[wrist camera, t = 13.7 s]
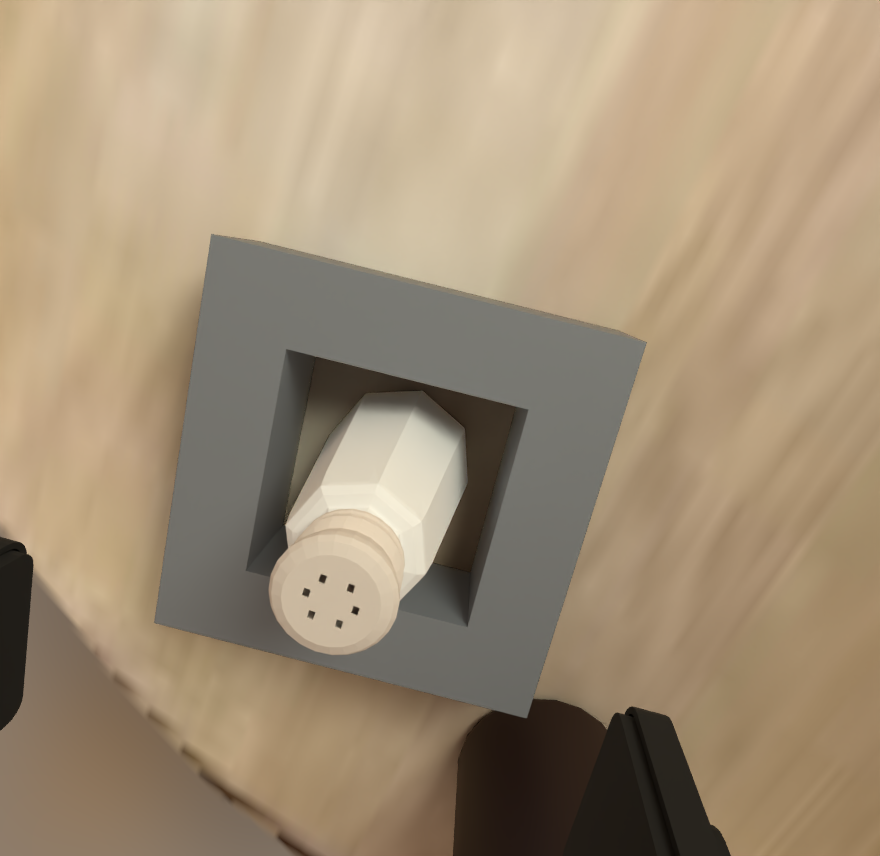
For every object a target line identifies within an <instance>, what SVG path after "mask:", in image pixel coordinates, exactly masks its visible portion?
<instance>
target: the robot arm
mask: <svg viewBox="0 0 880 856" xmlns="http://www.w3.org/2000/svg"><path fill="white" fill-rule="evenodd" d="M32 576H33V559H32V557H31V556H30V555H28V554H27V552H26V548H25V546H24V545H23V544H22V543H20V542H17V541H13V540H9V539H6V538H2V537H0V730H2V729H3V728H4V727H5V726H6V725H7V724H8V723H9V722H10V721H11V720H12V719H13V717H14V716H15V714H16V713H17V711H18V709H19V707H20V704H21V702H22V697H23V688H24V675H25V663H26V650H27V638H28V626H29V625H28V624H29V613H30V601H31V587H32ZM563 856H731V855H730V852H729V850H728V847H727V845H726V842H725V840H724V838H723V836H722V834H721V833H720V831H719V830H718V829H717V828H716V827H715V826H713V825H710V823H709V820H708V817H707V815H706V812H705V809H704V807H703V804H702V801H701V799H700V796H699V793H698V791H697V788H696V785H695V783H694V780H693V777H692V774H691V772H690V769H689V766H688V764H687V761H686V758H685V756H684V753H683V750H682V748H681V745H680V742H679V740H678V737H677V734H676V732H675V729H674V726H673V724H672V721H671V720H670V718H669V717H668V716H666V715H662V714H658V713H655V712H651V711H647V710H644V709H640V708H636V707H629V708H628V709H627V711H626V712H625V714H620V713H615V714H614V716H613V717H612V719H611V722H610V724H609V727H608V730H607V733H606V735H605V738H604V741H603V744H602V746H601V749H600V752H599V754H598V757H597V760H596V763H595V765H594V768H593V771H592V774H591V776H590V779H589V782H588V785H587V787H586V790H585V793H584V795H583V798H582V801H581V804H580V806H579V809H578V812H577V815H576V817H575V820H574V823H573V825H572V828H571V831H570V834H569V836H568V839H567V842H566V845H565V848H564V852H563Z"/></svg>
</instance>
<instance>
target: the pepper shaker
mask: <svg viewBox="0 0 880 856" xmlns="http://www.w3.org/2000/svg"><path fill="white" fill-rule="evenodd" d="M467 483H468V477H467V458H466V439H465V428H464V427H463V426H462V425H461V424H459V423H458V422H457V421H456V420H455V419H454V418H453V417H452V416H450V415H449V414H448V413H447V412H446V411H445V410H444V409H443V408H441V407H440V406H439V405H438V404H437V403H436V402H435V401H433V400H432V399H431V398H430V397H429V396H428V395H427V394H426V393H424V392H423V391H403V392H382V393H365V395H364V396H363V397H362V398H361V399H360V400H359V401H358V403H357V404H356V405H355V406H354V407H353V408H352V409H351V411H350V412H349V413H348V414H347V415H346V416H345V417H344V419H343V420H342V421H341V422H340V423H339V424H338V426H337V427H336V428H335V429H334V430H333V431H332V432H331V434H330V435H329V437H328V439H327V441H326V443H325V445H324V447H323V449H322V451H321V453H320V455H319V457H318V459H317V461H316V463H315V465H314V467H313V469H312V471H311V473H310V475H309V477H308V478H307V480H306V482H305V484H304V486H303V488H302V490H301V492H300V494H299V496H298V498H297V500H296V502H295V504H294V506H293V508H292V510H291V512H290V514H289V517H288V520H287V523H286V525H285V526H286V534H287V543H288V549H287V550H286V551H285V552H284V554H283V555H282V556H281V557H280V558H279V559H278V560H277V562H276V564H275V567H274V569H273V571H272V573H271V576H270V583H269V589H268V590H269V598H270V605H271V608H272V610H273V612H274V615H275V617H276V620H277V621H278V623H279V624H280V625H281V626H282V628H283V629H284V630H285V632H286V633H287V634H288V635H289V636H291V637H292V638H293V639H294V640H296V641H297V642H298V643H299V644H301V645H303V646H305V647H307V648H309V649H311V650H313V651H316V652H320V653H325V654H329V655H349V654H353V653H357V652H361V651H364V650H366V649H368V648H369V647H371V646H373V645H375V644H377V643H378V642H379V641H380V640H381V639H382V638H383V637H384V636H385V635H386V634H387V633H388V632H389V630H390V629H391V627H392V625H393V623H394V621H395V619H396V617H397V612H398V607H399V602H400V600H401V599H402V598H403V597H404V596H405V595H406V594H407V593H408V592H409V591H410V590H411V589H412V588H413V587H414V586H415V585H416V584H417V583H418V582H419V581H420V580H421V579H422V578H423V577H424V575H425V574H426V573H427V571H428V569H429V567H430V566H431V564H432V562H433V560H434V558H435V555H436V553H437V551H438V549H439V546H440V544H441V542H442V540H443V537H444V535H445V533H446V531H447V528H448V526H449V524H450V522H451V519H452V517H453V515H454V513H455V510H456V508H457V506H458V504H459V501H460V499H461V497H462V495H463V492H464V490H465V488H466V486H467Z"/></svg>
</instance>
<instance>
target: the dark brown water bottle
mask: <svg viewBox="0 0 880 856" xmlns="http://www.w3.org/2000/svg"><path fill="white" fill-rule="evenodd" d="M606 733H607V730H606V728H605V727H604V726H603V724H602V723H601V722H600V721H598V720H597V719H595V718H594V717H592V716H591V715H590V714H588V713H587V712H585V711H584V710H582V709H581V708H578V707H575V706H572V705H569V704H566V703H563V702H560V701H557V700H539V699H533V700H532V703H531V706H530V710H529V713H528V716H527V718H523V717H519V716H515V715H511V714H508V713H504V712H500V711H496V710H495V711H494V712H492V713H490V714H488V715H487V716H485V717H483V718H482V720H481V721H480V722H479V723H478V724H477V725H476V726H475V727H474V729H473V730H472V731H471V732H470V733H469V734H468V736H467V738H466V741H465V743H464V746H463V749H462V751H461V754H460V756H459V759H458V775H457V793H456V810H455V828H454V846H453V856H563V852H564V848H565V845H566V842H567V839H568V836H569V834H570V831H571V828H572V825H573V823H574V820H575V817H576V815H577V812H578V809H579V806H580V804H581V801H582V798H583V795H584V793H585V790H586V787H587V785H588V782H589V779H590V776H591V774H592V771H593V768H594V765H595V763H596V760H597V757H598V754H599V752H600V749H601V746H602V744H603V741H604V738H605V735H606Z"/></svg>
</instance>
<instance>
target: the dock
mask: <svg viewBox="0 0 880 856" xmlns="http://www.w3.org/2000/svg"><path fill="white" fill-rule="evenodd" d="M646 343H647V342H644V341H642V340H640V339H637V338H635V337H632V336H630V335H628V334H625V333H623V332H620V331H617V330H613V329H609V328H605V327H601V326H597V325H593V324H589V323H585V322H581V321H577V320H573V319H569V318H565V317H561V316H557V315H553V314H549V313H545V312H541V311H537V310H533V309H529V308H525V307H521V306H517V305H513V304H509V303H505V302H501V301H497V300H493V299H489V298H485V297H481V296H477V295H473V294H469V293H465V292H461V291H457V290H453V289H449V288H445V287H441V286H437V285H433V284H429V283H425V282H421V281H417V280H413V279H409V278H404V277H400V276H396V275H392V274H388V273H384V272H380V271H376V270H372V269H368V268H364V267H360V266H356V265H352V264H348V263H344V262H340V261H336V260H332V259H328V258H324V257H320V256H316V255H312V254H308V253H304V252H300V251H296V250H292V249H288V248H284V247H280V246H276V245H272V244H268V243H264V242H260V241H254V240H247V239H241V238H234V237H227V236H221V235H214V234H211V240H210V247H209V254H208V260H207V267H206V274H205V281H204V288H203V294H202V301H201V308H200V315H199V322H198V328H197V335H196V342H195V349H194V356H193V363H192V369H191V376H190V383H189V390H188V397H187V403H186V410H185V417H184V424H183V431H182V437H181V444H180V451H179V458H178V465H177V472H176V478H175V485H174V492H173V499H172V506H171V512H170V519H169V526H168V533H167V540H166V546H165V553H164V560H163V567H162V574H161V581H160V587H159V594H158V601H157V608H156V615H155V621H154V623H156V624H160V625H164V626H168V627H172V628H176V629H180V630H183V631H187V632H191V633H195V634H199V635H203V636H207V637H211V638H215V639H219V640H222V641H226V642H230V643H234V644H238V645H242V646H246V647H250V648H254V649H258V650H262V651H265V652H269V653H273V654H277V655H281V656H285V657H289V658H293V659H297V660H301V661H305V662H308V663H312V664H316V665H320V666H324V667H328V668H332V669H336V670H340V671H344V672H347V673H351V674H355V675H359V676H363V677H367V678H371V679H375V680H379V681H383V682H387V683H390V684H394V685H398V686H402V687H406V688H410V689H414V690H418V691H422V692H426V693H429V694H433V695H437V696H441V697H445V698H449V699H453V700H457V701H461V702H465V703H469V704H472V705H476V706H480V707H484V708H488V709H492V710H496V711H500V712H504V713H508V714H511V715H515V716H519V717H523V718H527V716H528V713H529V710H530V706H531V703H532V700H533V697H534V694H535V691H536V688H537V684H538V681H539V678H540V675H541V672H542V669H543V666H544V663H545V659H546V656H547V653H548V650H549V647H550V644H551V641H552V638H553V634H554V631H555V628H556V625H557V622H558V619H559V616H560V612H561V609H562V606H563V603H564V600H565V597H566V594H567V591H568V587H569V584H570V581H571V578H572V575H573V572H574V569H575V565H576V562H577V559H578V556H579V553H580V550H581V547H582V544H583V540H584V537H585V534H586V531H587V528H588V525H589V522H590V519H591V515H592V512H593V509H594V506H595V503H596V500H597V497H598V493H599V490H600V487H601V484H602V481H603V478H604V475H605V472H606V468H607V465H608V462H609V459H610V456H611V453H612V450H613V447H614V443H615V440H616V437H617V434H618V431H619V428H620V425H621V421H622V418H623V415H624V412H625V409H626V406H627V403H628V400H629V396H630V393H631V390H632V387H633V384H634V381H635V378H636V375H637V371H638V368H639V365H640V362H641V359H642V356H643V353H644V349H645V346H646ZM315 357H320V358H324V359H328V360H332V361H336V362H340V363H344V364H348V365H352V366H356V367H360V368H364V369H368V370H372V371H376V372H380V373H384V374H388V375H392V376H396V377H400V378H404V379H408V380H412V381H416V382H420V383H424V384H428V385H432V386H436V387H440V388H444V389H448V390H452V391H456V392H460V393H464V394H468V395H472V396H476V397H480V398H484V399H488V400H492V401H496V402H500V403H504V404H508V405H512V406H516V409H515V412H514V416H513V420H512V423H511V427H510V430H509V434H508V438H507V441H506V445H505V449H504V452H503V456H502V459H501V463H500V467H499V470H498V474H497V478H496V481H495V485H494V488H493V492H492V496H491V499H490V503H489V506H488V510H487V514H486V517H485V521H484V525H483V528H482V532H481V535H480V539H479V543H478V546H477V550H476V554H475V557H474V561H473V564H472V568H471V572H466V571H462V570H458V569H454V568H450V567H446V566H442V565H438V564H435V563H432V564H431V566H430V567H429V569H428V571H427V573H426V574H425V575H424V577H423V578H422V579H421V580H420V581H419V582H418V583H417V584H416V585H415V586H414V587H413V588H412V589H411V590H410V591H409V592H408V593H407V594H406V595H405V596H404V597H403V598H402V599H401V600H400V602H399V607H398V612H397V617H396V619H395V621H394V623H393V625H392V627H391V629H390V630H389V632H388V633H387V634H386V635H385V636H384V637H383V638H382V639H381V640H380V641H379V642H378V643H377V644H375V645H373V646H371V647H369V648H368V649H366V650H364V651H361V652H357V653H353V654H349V655H329V654H325V653H320V652H316V651H313V650H311V649H309V648H307V647H305V646H303V645H301V644H299V643H298V642H297V641H296V640H294V639H293V638H292V637H291V636H289V635H288V634H287V633H286V632H285V630H284V629H283V628H282V626H281V625H280V624H279V623H278V621H277V620H276V617H275V615H274V612H273V610H272V608H271V605H270V598H269V590H268V589H269V583H270V576H271V573H272V571H273V569H274V567H275V564H276V562H277V560H278V559H279V558H280V557H281V556H282V555H283V554H284V552H285V551H286V550H287V549H288V543H287V534H286V526H285V525H283V522H284V517H285V512H286V507H287V502H288V497H289V491H290V486H291V481H292V476H293V471H294V466H295V460H296V455H297V450H298V445H299V440H300V435H301V430H302V424H303V419H304V414H305V409H306V404H307V399H308V393H309V388H310V383H311V378H312V373H313V368H314V362H315Z"/></svg>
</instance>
